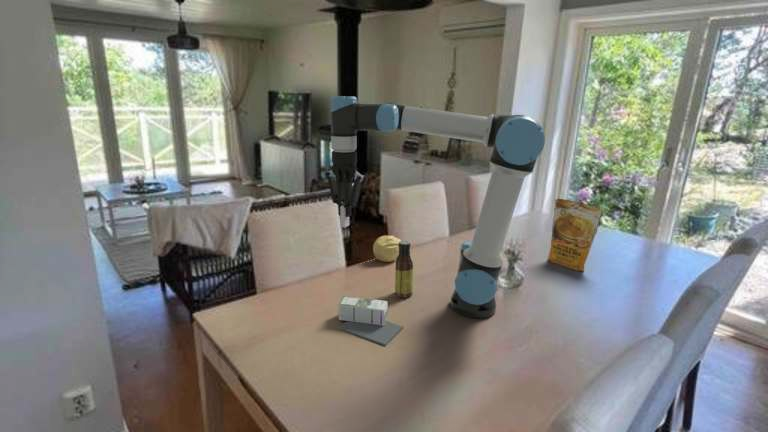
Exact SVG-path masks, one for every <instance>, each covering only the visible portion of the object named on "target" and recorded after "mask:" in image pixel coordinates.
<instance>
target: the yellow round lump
mask: <svg viewBox="0 0 768 432" xmlns="http://www.w3.org/2000/svg"><path fill="white" fill-rule="evenodd" d="M400 241H402V240H401V239H400V238H398V237H396V236H394V235H381V236H379V237H377V239H376V240H374V243H373V246H372V248H373V249H372V251H373V254H374V257H375V259H377V260H379V261H380V262H385V263H390V262H393V261H396V258H397V257H398V255H399V242H400Z"/></svg>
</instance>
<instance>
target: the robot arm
mask: <svg viewBox="0 0 768 432" xmlns="http://www.w3.org/2000/svg"><path fill="white" fill-rule="evenodd" d="M329 112H330V128H331V129H330V130H331V132H330V135H331V136H330V139H331V140H330V145H331V147H330V149H331V150H332V151H331V163H332V166H331V169H330V170H329V171H326V172H324V176H325V178H326V180H327V183H328V186H329V191H330V196H331V200H332V203H333V204H336V205H337V207H338V208H337V209H338V211H337V212H338V216H340V228H347V227H349V226H350V217H351V216H352V207H353V206H355V205H357V204H358V201H359V196H360V192H361V186H362V182H364V179H365V178H366V177H365V175H364V174H361V173H360V172H359V171H358V169H359V168H358V167H357V163H358V153H357V151H356V150H357V147H358V143H357V142H358V141H357V137H358V133H357V132H358V131H365V132H366V131H367V132H382V133H387V132H395V131H396V130H397V131H405V132H410V133H411V132H412V133H417V134H424V135H425V134H426V135H430V136H437V137H443V138H451V139H455V140H456V139H457V140H463V141H468V142H470V141H471V142H475V143H476V142H477V143H483V145H484V146H485V147H487V148H492V150H491V151H492V152H491V155H490V159H489V163H490V164H489V165H490V166H491V168H492V170H491V171H492V172H491V174H490V178H489V181H488V185H487V189H486V192H485V196H484V199H483V203H482V205H481V209H480V213H479V216H478V220H477V223H476V227H475V230H474V234H473V237H472V240H467V241H464V242H463V243H461V247H460V248H459V251H460V253H459V263H458V268H457V273H456V277H455V278H454V279H455V280H454V287H455V288H454V289H453V290H454V291H452V295H451V296H450V305H449V306H450V308H451V309H452V310H453V311H454V312H455V313H457V314H458V315H461V316H463V317H467V318H472V319H486V318H487V319H488V318H489V317H492V316H494V314H495V313H496V310H497V309H496V308H497V301H496V297H495V296H496V294H497V291H498V280H499V277H500V274H501V270H502V269H503V268H502V267H503V265H504V262H503V259H502V257H501V252H502V250H503V247H504V243H505V240H506V238H507V237H506V236H507V234H508V230H509V228H510V224H511V221H512V218H513V215H514V212H515V209H516V205H517V203H518V199H519V196H520V193H521V190H522V187H523V184H524V180H525V178H526V177H528V176H529V175H530V174H533V172H534V168H535V166H536V163H537V159H538V158H539V156H540V155H541V154H542V152H543V150H544V146H545V143H546V137H545V131H544V128H543V127H542V126H541V124H540V123H539V122H538V120H536V119H534V118H533V117H530V116H527V115H524V114H509V115H507V114H505V115H504V114H503V115H502V114H494V113H492V114H490V115H489V116H483V115H476V114H475V115H474V114H467V113H461V112H456V111H455V112H452V111H448V110H438V109H431V108H424V107H416V106H409V105H401V104H395V103H393V102H387V103H360V102H359V103H358V99H357V97H356V96H354V95H353V96H347V95H346V96H345V95H344V96H343V95H341V96H340V95H334V96H332V97H331V100H330V111H329Z"/></svg>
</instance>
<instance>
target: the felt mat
mask: <svg viewBox="0 0 768 432" xmlns="http://www.w3.org/2000/svg"><path fill="white" fill-rule="evenodd" d="M338 329H339V330H341V331H345V332H347V333H349V334H351V335H355V336H358V337H359V338H363V339H365V340H368V341H370V342H373V343H375V344H379V345H382V346H384V347H386V346H387V345H388V344H389V343H390V342H391V341H392V340H393V339H394V338H395V337H396V336H397V335H398V334H399V333H400V332H401V331H402V330H403V329H404V326H403V325H400V324H397V323H393V322H390V321H387V320H385V323H384V325H383V326H382V325H375V324H367V323H359V322H352V321H345V322H344V323H343V324H342V325H341V326H340V327H339V328H338Z"/></svg>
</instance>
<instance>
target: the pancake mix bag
mask: <svg viewBox="0 0 768 432" xmlns="http://www.w3.org/2000/svg"><path fill="white" fill-rule="evenodd" d="M600 208H601V207H600V206H598V205H592V204H588V203H583V202H579V201H574V200H569V199H563V198H556V199H555V200H554V209H553V219H552V228H551V239H550V250H549V253H548V256H547V260H548V261H550V263H552V264H555V265H558V266H561V267H563V268H567V269H570V270H571V271H572V270H573V271H576V272H585V264H586V261H587V260H588V257H589V254H590V250H591V249H592V247H593V244H594V240H595V236H596V235H597V231H598V228H599V226H600V225H599V224H600V221H601V219H602V216H603V209H600Z"/></svg>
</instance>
